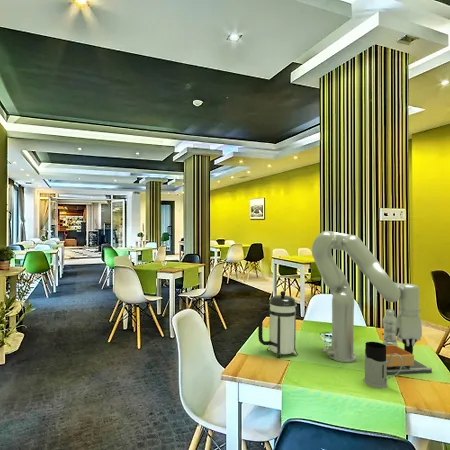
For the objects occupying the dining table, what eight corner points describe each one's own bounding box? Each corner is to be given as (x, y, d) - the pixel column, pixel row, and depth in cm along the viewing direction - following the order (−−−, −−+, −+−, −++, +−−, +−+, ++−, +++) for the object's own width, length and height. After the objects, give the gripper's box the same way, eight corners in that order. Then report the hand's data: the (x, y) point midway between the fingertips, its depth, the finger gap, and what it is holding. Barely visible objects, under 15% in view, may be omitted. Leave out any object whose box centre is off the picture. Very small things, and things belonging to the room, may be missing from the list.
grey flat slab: (387, 374, 138) (387, 370, 138) (370, 362, 151) (370, 358, 151) (431, 372, 140) (431, 368, 140) (410, 360, 153) (410, 356, 153)
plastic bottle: (399, 353, 162) (399, 312, 162) (384, 352, 163) (384, 311, 163) (395, 348, 168) (395, 308, 168) (380, 347, 169) (381, 308, 169)
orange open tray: (387, 370, 138) (387, 356, 138) (371, 359, 150) (371, 345, 150) (413, 369, 140) (414, 355, 140) (395, 357, 152) (395, 345, 152)
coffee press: (271, 345, 171) (272, 286, 171) (301, 351, 163) (302, 290, 163) (257, 356, 156) (258, 292, 156) (290, 364, 148) (291, 296, 148)
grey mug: (369, 375, 137) (369, 339, 137) (406, 388, 126) (406, 349, 127) (359, 382, 131) (359, 344, 131) (397, 396, 121) (398, 355, 121)
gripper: (418, 309, 151) (418, 350, 151) (387, 310, 149) (387, 351, 149) (430, 314, 143) (430, 356, 143) (398, 315, 141) (398, 358, 141)
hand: (408, 354), depth 146 cm, fingers closed
